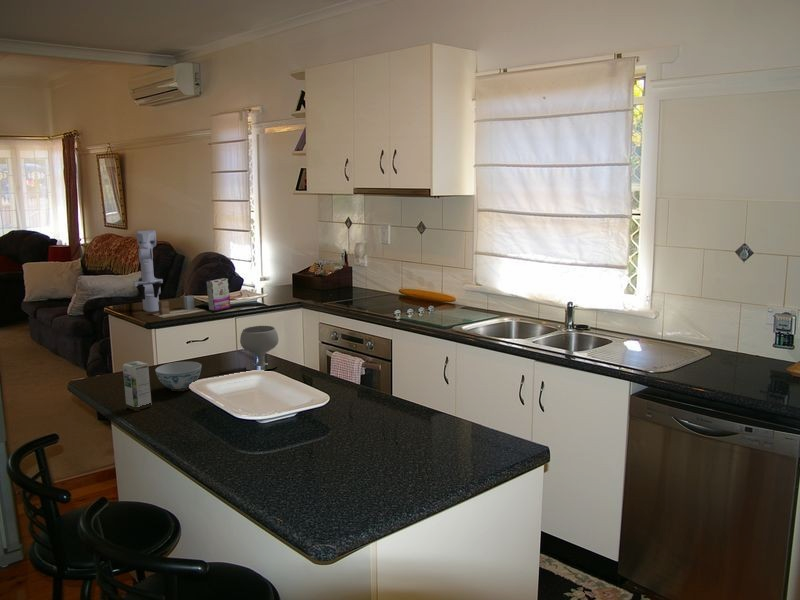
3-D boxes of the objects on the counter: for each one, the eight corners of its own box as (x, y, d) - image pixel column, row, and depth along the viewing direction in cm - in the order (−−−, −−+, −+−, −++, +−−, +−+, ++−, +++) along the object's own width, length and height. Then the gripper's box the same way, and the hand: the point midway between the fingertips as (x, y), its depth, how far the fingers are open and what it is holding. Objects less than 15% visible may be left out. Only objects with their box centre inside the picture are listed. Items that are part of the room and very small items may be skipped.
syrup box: (125, 409, 220) (121, 364, 217) (142, 403, 225) (138, 360, 222) (135, 412, 216) (131, 367, 214) (152, 407, 221) (148, 362, 218)
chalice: (275, 361, 271) (273, 323, 268) (283, 370, 258) (281, 330, 256) (239, 366, 266) (236, 327, 263) (245, 375, 253) (242, 335, 251)
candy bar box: (225, 307, 386) (222, 278, 383) (230, 308, 383) (228, 278, 380) (208, 311, 377) (206, 280, 374) (214, 311, 374) (211, 281, 371)
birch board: (152, 315, 369) (151, 314, 368) (194, 308, 384) (194, 307, 384) (163, 319, 358) (163, 317, 358) (206, 312, 374) (206, 310, 374)
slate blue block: (184, 309, 380) (183, 296, 379) (191, 308, 383) (190, 295, 381) (187, 310, 377) (186, 297, 376) (194, 308, 380) (193, 296, 378)
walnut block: (159, 314, 366) (158, 301, 365) (166, 313, 369) (165, 300, 368) (162, 315, 364) (161, 302, 362) (169, 314, 366) (168, 301, 365)
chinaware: (165, 399, 229) (163, 376, 227) (151, 388, 241) (149, 366, 239) (209, 389, 237) (208, 367, 236) (194, 380, 249) (192, 359, 248)
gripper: (136, 274, 350) (139, 301, 352) (164, 271, 359) (166, 297, 362) (130, 273, 355) (133, 299, 357) (158, 270, 365) (160, 295, 367)
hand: (149, 298), depth 360 cm, fingers open, 6 cm apart
